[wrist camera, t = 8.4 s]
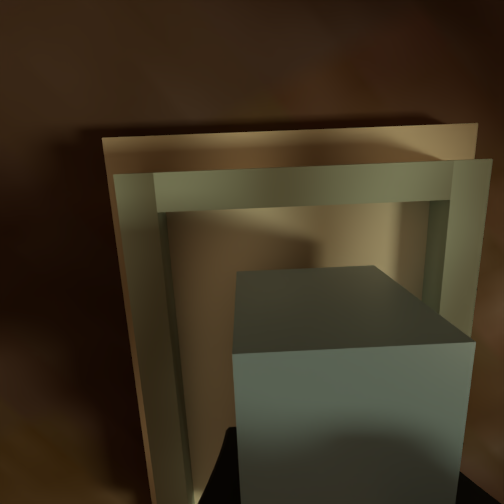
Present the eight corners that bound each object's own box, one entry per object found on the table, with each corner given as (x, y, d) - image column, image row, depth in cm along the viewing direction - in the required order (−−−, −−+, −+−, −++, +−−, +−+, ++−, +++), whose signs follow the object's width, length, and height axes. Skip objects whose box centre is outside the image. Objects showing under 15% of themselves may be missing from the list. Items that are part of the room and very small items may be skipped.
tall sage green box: (374, 265, 11) (475, 341, 6) (361, 531, 14) (426, 730, 9) (236, 271, 11) (232, 354, 6) (250, 538, 14) (255, 742, 9)
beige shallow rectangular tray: (454, 127, 14) (537, 112, 10) (418, 508, 19) (465, 599, 15) (116, 140, 14) (65, 130, 10) (165, 522, 19) (143, 620, 15)
